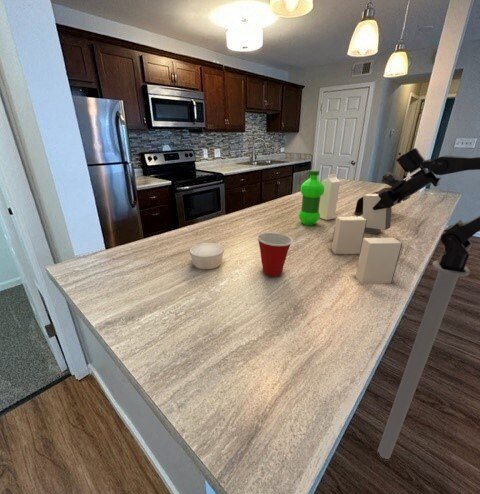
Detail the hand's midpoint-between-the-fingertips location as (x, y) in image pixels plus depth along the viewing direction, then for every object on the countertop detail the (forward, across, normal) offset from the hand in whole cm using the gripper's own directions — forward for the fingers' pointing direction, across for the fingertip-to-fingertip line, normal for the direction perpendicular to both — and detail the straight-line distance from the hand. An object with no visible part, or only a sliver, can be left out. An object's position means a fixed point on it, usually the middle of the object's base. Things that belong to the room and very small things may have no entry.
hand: (375, 208), depth 103 cm
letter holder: (+20, -39, -2) cm, 44 cm away
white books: (+5, +25, +14) cm, 30 cm away
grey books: (+13, 0, +6) cm, 14 cm away
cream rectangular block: (+4, 0, +6) cm, 8 cm away
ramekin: (+29, +62, -10) cm, 70 cm away
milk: (+29, -13, -10) cm, 33 cm away
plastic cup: (+16, +50, +3) cm, 53 cm away
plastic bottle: (+29, +2, -11) cm, 31 cm away
